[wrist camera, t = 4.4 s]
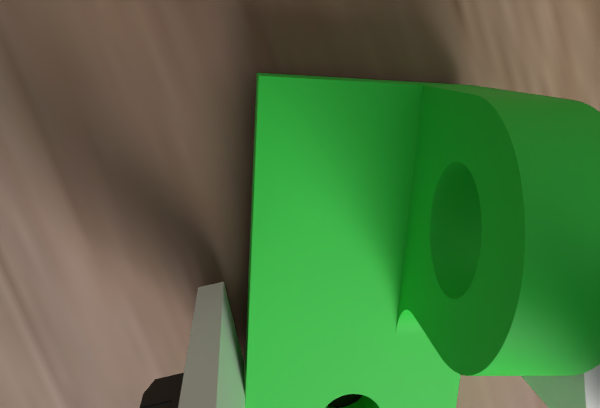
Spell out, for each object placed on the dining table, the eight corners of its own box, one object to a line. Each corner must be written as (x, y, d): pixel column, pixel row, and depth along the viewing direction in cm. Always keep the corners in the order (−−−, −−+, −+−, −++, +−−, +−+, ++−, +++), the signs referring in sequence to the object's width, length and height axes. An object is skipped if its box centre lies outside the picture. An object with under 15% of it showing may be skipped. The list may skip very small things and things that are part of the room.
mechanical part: (256, 72, 15) (271, 92, 8) (470, 84, 16) (680, 115, 8) (241, 454, 18) (240, 742, 11) (422, 452, 19) (543, 722, 11)
